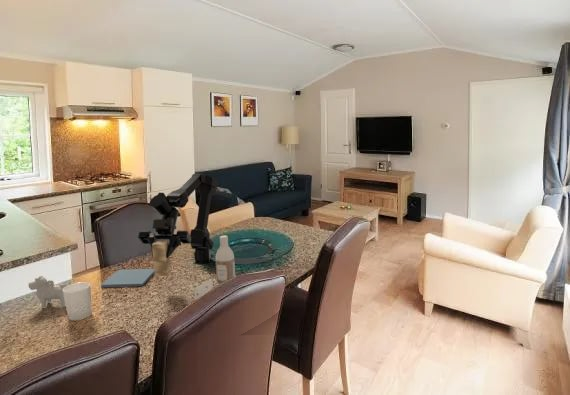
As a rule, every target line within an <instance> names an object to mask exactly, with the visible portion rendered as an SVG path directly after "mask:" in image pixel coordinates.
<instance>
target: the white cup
mask: <svg viewBox="0 0 570 395" xmlns="http://www.w3.org/2000/svg"><path fill="white" fill-rule="evenodd" d="M91 288H92V287H91V284H90V282H87V281H86V282H85V281H83V282H82V281H81V282H75V283H72V284H68V285H67V286H66V287H64V288H63V295H64V301H65V309H66V312H67V318H68V319H69V320H70V319H71V320H70V321H73V320H77V321H81V320H80V319H82V320H84V318H85V319H87V318H89V317H90V316H91V315H92V313H93V312H92V291H91V290H92V289H91Z"/></svg>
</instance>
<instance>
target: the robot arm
mask: <svg viewBox="0 0 570 395" xmlns="http://www.w3.org/2000/svg"><path fill="white" fill-rule="evenodd" d="M218 184H219V182H218V179H217V178H216V177H213V176H209V175H205V174H204V173H193V174H192V175H191V177H190V178H188V180H187V181H186V182H185V183H184V184H182V186H181V187H180V188H178V189H175V190H172V191H171V192H169V193H168V194H167V195H166V194H165V193H164V192H158V194H156V195H154V196H153V197H152V198H151V199H150V200H149V205H150V207H151V208H152V209H153V210H155V212H157V213H158V215H161V219H160V218H159V219H157V218H156V219H155V218H154V219H153V220H152V229H155V230H154V231H155V233H152V231H150V230H140V231H139V232H138V234H137V238H138V239H139V241H140V242H141V243H142V244H144V245H150V248H151V249H150V250H151V255H152V256H151V257H152V258H153V251H152V244H153V243H154V242H155V241H158V240H168V245H169V246H168V249H167V253H166V258H168V257H169V256H171V255H172V253H173V252H174V251H175V250H176V249H177V248H178V247H179V246H180V247H181V246H182V244H183V245H184V244H187V245H188V244H190V247H191V249H192V250H194V252H193V255H194V256H193V257H194V264H210V262H211V261H210V258H212V256H211V255H212V254H211V250H213V248H214V243H215V242H214V241H213V240H212V239H211V238H210V236H211V233H210V231H209V229H208V223H209V216H210V209H211V202H212V197H213V196H214V195H215V193H216V191H217V189H218V188H217V187H218ZM196 189H198V192H199V194H200V198H199V203H198V204H199V205H198V211H197V217H196V218H197V219H196V225H195V227H194V228H192V229H191V230H190V233H189V231H188V230H177V231H176V233H175V230H176V229H177V221H178V217H181V216H182V215H181V213H180V211H179V209H178V208H180V209H183V208H185V206H186V205H187V203H188V202H189V197H190V196H191V195H192V194H193V193H194V191H196Z"/></svg>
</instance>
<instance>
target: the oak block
mask: <svg viewBox="0 0 570 395" xmlns="http://www.w3.org/2000/svg"><path fill="white" fill-rule="evenodd" d="M168 246H169V239H166V240H157V241H155V242H154V243H153V244H152V249H151V252H152V251H153V257H152V259H153V269H154V272H155V273H154V276H155V277H162V276H163V277H166V276H169V274H170V273H171V271H172V270H171V260H170V259H171V258H170V256H171V255H170V256H169V257H168V258H166V253H167V249H168Z"/></svg>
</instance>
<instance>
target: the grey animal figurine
mask: <svg viewBox="0 0 570 395" xmlns="http://www.w3.org/2000/svg"><path fill="white" fill-rule="evenodd" d="M27 286H28V288H29V290H31V291H35V290H36V292H35V293H36V294H35V295H36V297H37V299H38V300H40V303H41V307H40V309H41V308H44V307H47V303H50V302H51V303H52V300H59V301H60V307H64V308H65V307H66V305H65V301H64V295H63V288H64V287H66V286H68V285H67V284H64V283H59V284H58V285H56V284H55V283H54V280H52V279H49V280H47V278H46V277H44V276H43V275H39V276H38V277H36V278H34V280H33V281H29V282H28V285H27ZM51 303H50V304H51Z"/></svg>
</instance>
